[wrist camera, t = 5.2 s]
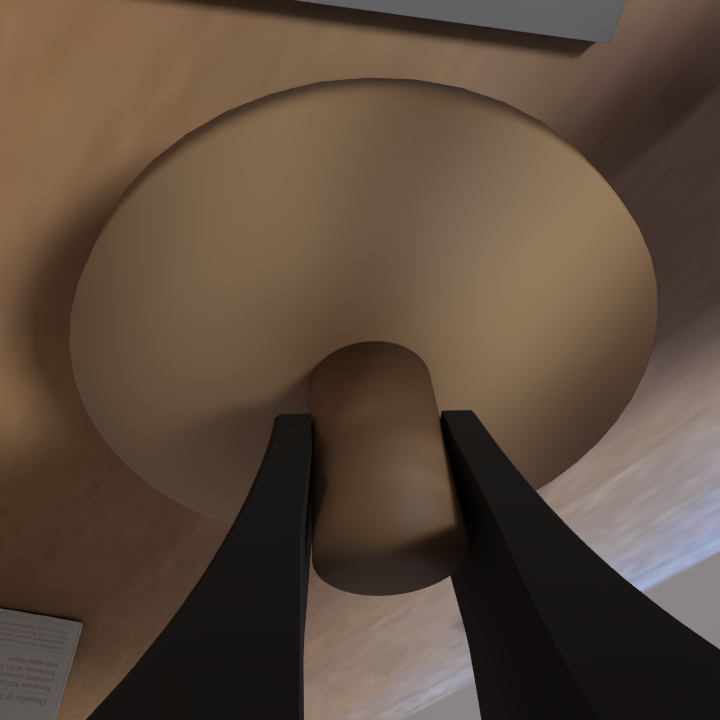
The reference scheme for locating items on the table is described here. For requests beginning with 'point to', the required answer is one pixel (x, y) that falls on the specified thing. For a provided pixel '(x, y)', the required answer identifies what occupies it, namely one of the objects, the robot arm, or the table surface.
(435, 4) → the mat
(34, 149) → the table surface
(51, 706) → the supplement box
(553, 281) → the lid
